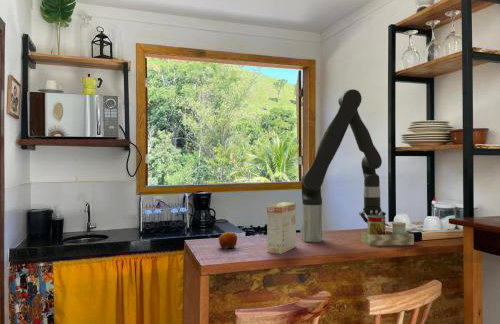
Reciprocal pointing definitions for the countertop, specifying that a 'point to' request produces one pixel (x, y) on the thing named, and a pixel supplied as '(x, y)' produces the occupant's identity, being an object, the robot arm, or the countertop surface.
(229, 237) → the fruit
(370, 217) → the canned food
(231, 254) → the countertop surface
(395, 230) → the jar
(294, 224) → the coffeecake box
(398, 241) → the grey green tray
